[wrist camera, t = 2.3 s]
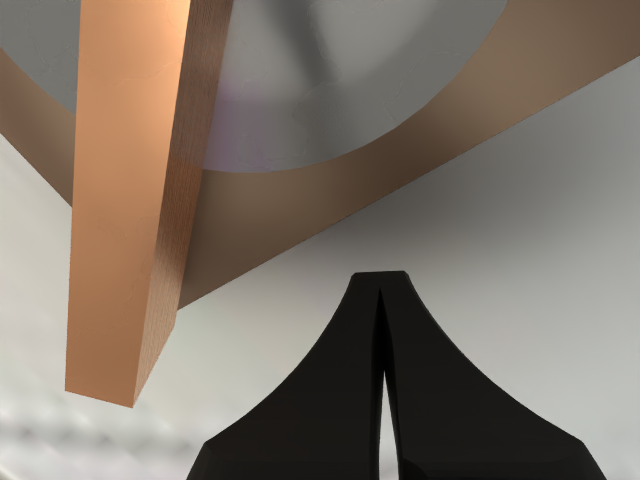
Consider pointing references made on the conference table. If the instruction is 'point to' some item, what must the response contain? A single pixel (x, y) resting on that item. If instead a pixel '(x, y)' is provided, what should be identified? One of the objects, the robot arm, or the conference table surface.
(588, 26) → the stand
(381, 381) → the robot arm
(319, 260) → the conference table surface
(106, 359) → the dial
